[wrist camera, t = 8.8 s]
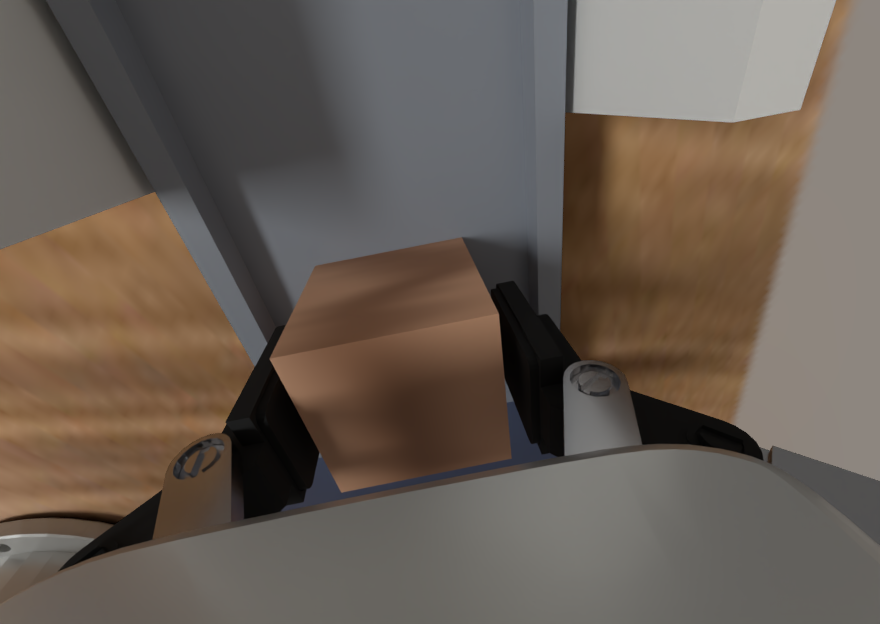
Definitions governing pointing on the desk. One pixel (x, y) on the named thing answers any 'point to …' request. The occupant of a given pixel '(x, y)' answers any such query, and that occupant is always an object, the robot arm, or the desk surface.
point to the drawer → (587, 91)
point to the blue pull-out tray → (341, 143)
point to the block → (397, 365)
